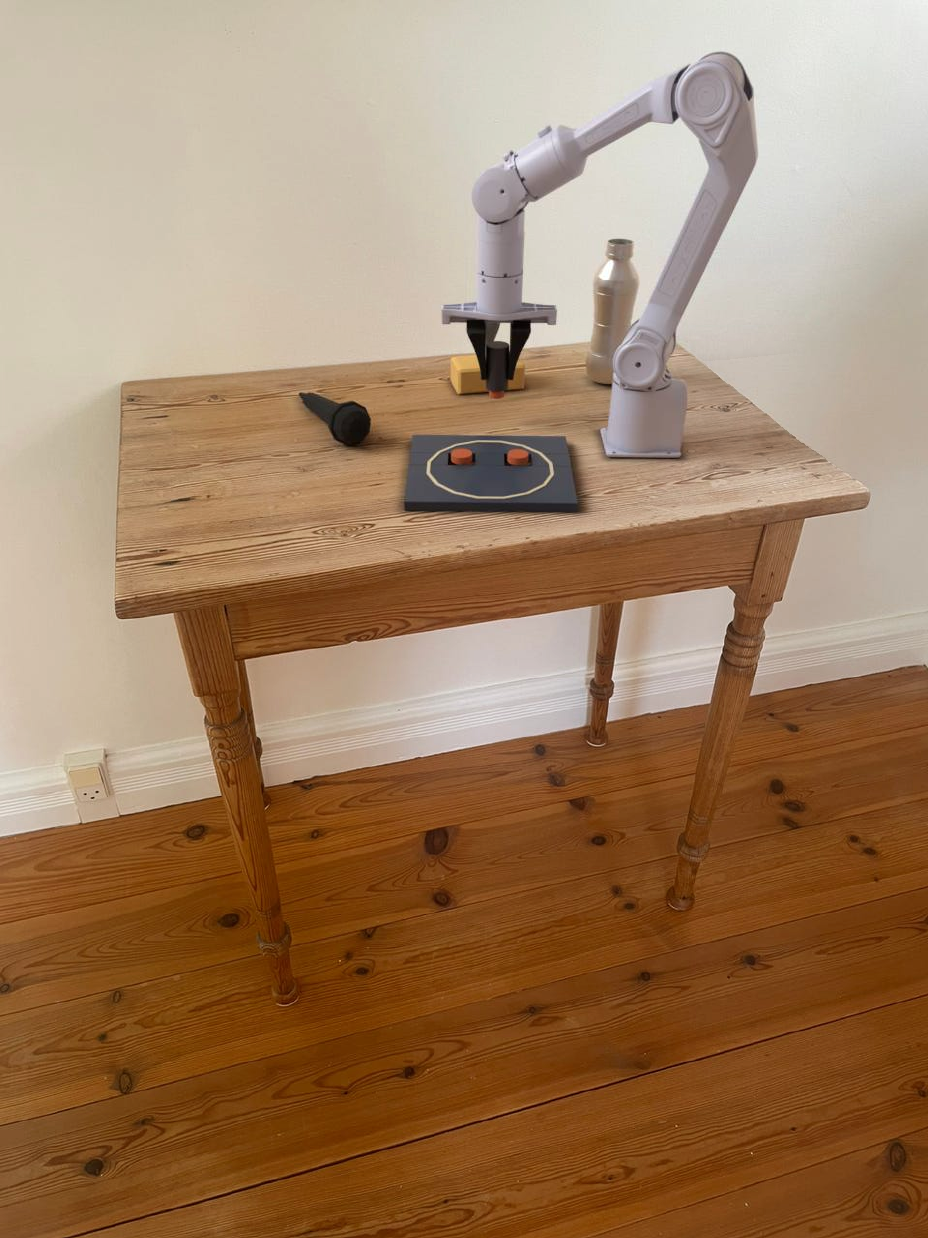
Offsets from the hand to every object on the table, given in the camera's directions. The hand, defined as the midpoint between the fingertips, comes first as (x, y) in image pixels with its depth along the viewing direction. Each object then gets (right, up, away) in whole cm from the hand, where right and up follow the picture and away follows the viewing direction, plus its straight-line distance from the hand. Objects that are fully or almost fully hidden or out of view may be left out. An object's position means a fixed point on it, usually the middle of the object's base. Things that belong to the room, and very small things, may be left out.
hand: (497, 377), depth 122 cm
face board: (-1, -14, -8) cm, 16 cm away
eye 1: (-5, -13, -7) cm, 15 cm away
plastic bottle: (+17, +4, +17) cm, 24 cm away
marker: (0, -2, +2) cm, 3 cm away
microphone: (-22, -5, +4) cm, 23 cm away
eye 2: (+2, -12, -7) cm, 14 cm away
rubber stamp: (-1, +3, +15) cm, 16 cm away
